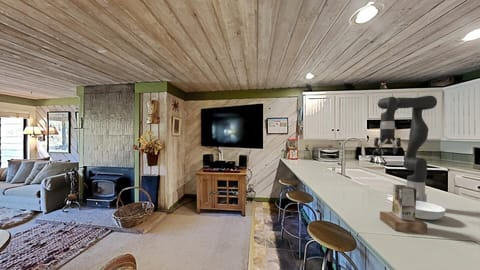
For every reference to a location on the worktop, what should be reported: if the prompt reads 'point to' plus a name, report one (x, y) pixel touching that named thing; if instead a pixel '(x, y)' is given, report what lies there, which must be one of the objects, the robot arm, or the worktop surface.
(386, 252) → the worktop surface
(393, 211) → the coffee box
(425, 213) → the serving bowl
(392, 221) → the walnut block
